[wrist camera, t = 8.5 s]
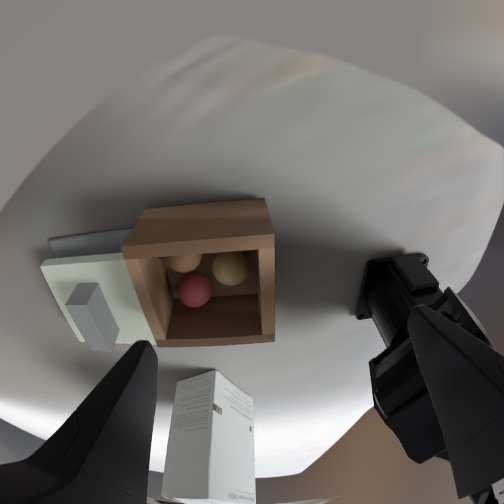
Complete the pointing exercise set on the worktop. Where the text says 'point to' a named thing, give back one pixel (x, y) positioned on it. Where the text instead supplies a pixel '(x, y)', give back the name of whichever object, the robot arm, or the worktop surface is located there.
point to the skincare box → (210, 443)
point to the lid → (98, 299)
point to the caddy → (205, 272)
